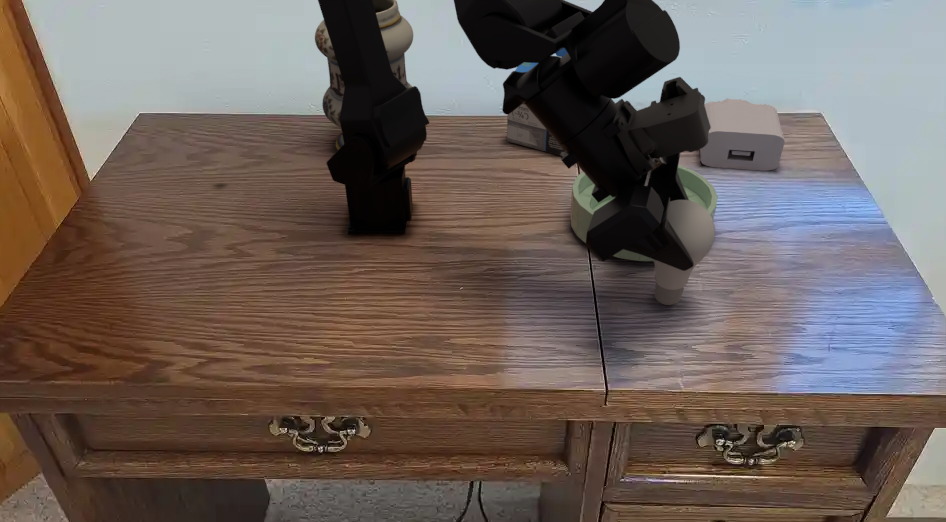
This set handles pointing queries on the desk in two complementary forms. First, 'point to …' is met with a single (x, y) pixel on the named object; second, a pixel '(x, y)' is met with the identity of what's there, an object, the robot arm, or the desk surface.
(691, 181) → the bowl
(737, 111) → the charger
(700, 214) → the lightbulb
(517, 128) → the blue grey carton
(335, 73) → the apothecary jar
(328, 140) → the desk surface
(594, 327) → the desk surface
